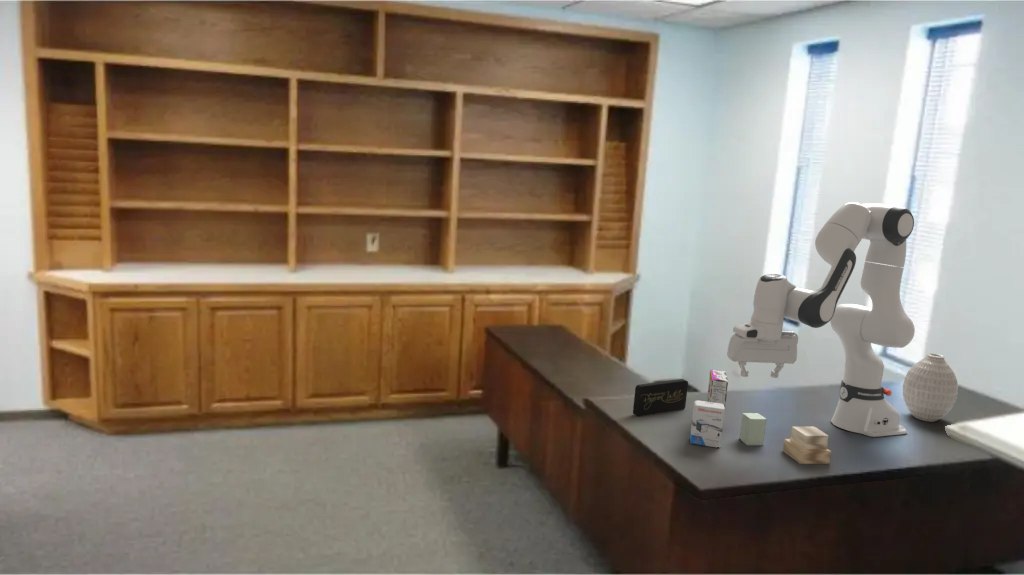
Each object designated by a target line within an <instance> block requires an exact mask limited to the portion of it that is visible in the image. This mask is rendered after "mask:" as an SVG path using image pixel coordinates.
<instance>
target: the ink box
mask: <svg viewBox="0 0 1024 575" xmlns="http://www.w3.org/2000/svg"><path fill="white" fill-rule="evenodd" d="M692 408H693V409H692V410H693V411H692V417H691V420H692V421H691V426H690V433H689V443H690V444H692V445H699V446H705V447H713V448H717V447H719V448H721V445H722V444H721V443H722V437H723V430H724V419H725V412H726V406H725V407H724V405H723V404H720V403H713V402H707V400H705V401H704V400H699V399H698V400H694V402H693V407H692ZM719 448H718V449H719Z"/></svg>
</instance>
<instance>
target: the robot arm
mask: <svg viewBox="0 0 1024 575" xmlns="http://www.w3.org/2000/svg"><path fill="white" fill-rule="evenodd" d="M914 227H915V219H914V216H913V214H912V212H911V210H910V209H908V208H906V207H904V206H899V205H890V204H885V203H859V202H855V201H853V202H852V201H851V202H846V203H844V204H843V205H842V206H840V208H838V209H837V210H836V211H835V212H834V213H833V214H832V215H831V216H830V217H829V219H828V220H826V223H824V224H823V226H822V227H821V229H820V230H819V232H818V233H817V235H816V237H815V239H814V240H815V242H814V245H815V249H816V251H817V252H816V253H818V255H819V256H820V258H822V260H823V261H824V262H825V263H827V264H828V265H830V269H829V271H828V273H827V275H826V278H824V281H823V283H822V285H821V287H820V288H818V289H814V290H811V289H807V288H803V287H800V286H797V285H795V284H793V283H791V282H790V281H789V280H788V278H787V276H786V275H783V274H778V273H769V274H768V273H767V274H764V275H762V276H760V277H759V279H758V281H757V284H756V287H755V291H754V296H753V301H752V302H753V303H752V305H753V313H752V315H751V316H750V318H751V319H750V321H746V322H744V323H741V324H737V325H734V326H733V329H732V332H733V333H734V334H733V335H732V336H731V337H730V339H729V342H728V346H727V357H728V359H729V360H730V361H732V362H737V364H738V367H739V368H740V376H741V377H742V378H748V377H749V373H750V372H749V371H748V369H746V367H745V366H747V363H761V364H762V363H765V364H766V363H767V364H775V368H774V369H773V370H772V369H771V371H770V377H771V378H775V379H777V378H779V375H780V374H779V373H780V372H781V370H782V369H783V368H784V367H785V366H784V365H785V364H789V365H790V364H792V365H793V364H795V363H796V361H797V358H798V343H799V336H798V334H797V333H796V332H794V331H784V329H783V327H784V318H785V319H788V320H791V321H794V322H798V323H801V324H804V325H806V326H808V327H810V328H812V329H813V328H814V329H818V328H821V327H823V326H825V325H827V324H828V323H830V327H831V328H832V330H833V331H834V332H835V333H836V334H837V336H838V337H839V339H840V342H841V344H842V347H843V351H844V360H845V361H844V370H843V371H844V372H843V378H842V379H841V382H840V388H839V398H838V402H837V405H836V408H835V411H834V414H833V416H832V418H831V420H830V422H831V424H832V425H834V426H836V427H838V428H839V429H843V430H845V431H848V432H851V433H857V434H861V435H864V436H868V437H870V438H871V437H872V438H875V437H877V438H878V437H885V436H896V435H897V436H898V435H899V436H900V435H906V434H908V433H907V429H906V428H905V427H904V426H903V425H901V424H900V422H901V420H900V413H899V411H898V410H897V409H896V408H895V406H893V405H891V404H890V402H888V400H887V399H885V396H887V397H890V396H892V393H893V391H892V390H891V389H889V388H884V387H882V380H883V375H884V369H885V365H884V361H883V359H882V358H881V357H880V356H879V355H877V354H876V352H875V351H874V349H873V347H872V344H874V345H877V346H881V347H886V348H893V349H894V348H899V349H902V348H905V347H907V346H908V345H909V344H910V343H911V342H912V340H913V339H914V336H915V334H916V333H915V332H916V331H915V325H914V322H913V320H912V319H911V318H910V317H909V316H908V315H907V313H906V312H905V310H904V307H903V305H902V301H901V284H902V278H903V272H904V268H905V264H906V263H905V262H906V256H907V255H906V254H907V239H908V238H909V236H911V234H912V232H913V230H914ZM862 239H863V240H869V241H870V243H869V246H868V249H867V252H866V256H865V261H864V264H863V269H862V273H861V278H860V287H861V289H862V290H863V292H864V293H866V294H867V295H868V296H869V297H870V299H871V304H872V307H871V306H867V305H861V304H856V303H840V304H838V302H839V300H840V298H841V296H842V293H843V292H844V290H845V287H846V286H847V284H848V282H849V280H850V277H851V276H852V274H853V271H854V269H855V268H856V267H855V266H856V263H857V256H856V253H855V251H856V248H857V247H858V246H859V244H860V243H861V241H862ZM837 304H838V305H837Z"/></svg>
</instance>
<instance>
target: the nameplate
mask: <svg viewBox="0 0 1024 575" xmlns="http://www.w3.org/2000/svg"><path fill="white" fill-rule="evenodd" d="M688 386H689V381H688V380H687V379H683V378H681V379H680V378H679V379H672V380H664V381H656V382H649V383H640V384H637V385H635V387H634V388H635V389H634V396H633V397H634V400H633V406H632V408H633V410H632V414H633V415H634V416H635V417H646V416H650V415H651V414H652V415H656V414H657V413H658V414H662V413H669V412H676V411H681V410H685V408H686V404H687V396H688V395H687V394H688V388H689V387H688ZM658 414H657V415H658Z"/></svg>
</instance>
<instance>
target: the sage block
mask: <svg viewBox="0 0 1024 575" xmlns="http://www.w3.org/2000/svg"><path fill="white" fill-rule="evenodd" d="M767 421H768V420H767V418H766V417H765V416H763V415H761V414H760V413H758V412H755V413H754V412H743V413H742V415H741V423H740V429H739V430H740V431H739V440H740V439H741V440H740V441H741V442H743V443H744V444H745V445H747V446H764V440H765V434H766V427H767Z"/></svg>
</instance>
